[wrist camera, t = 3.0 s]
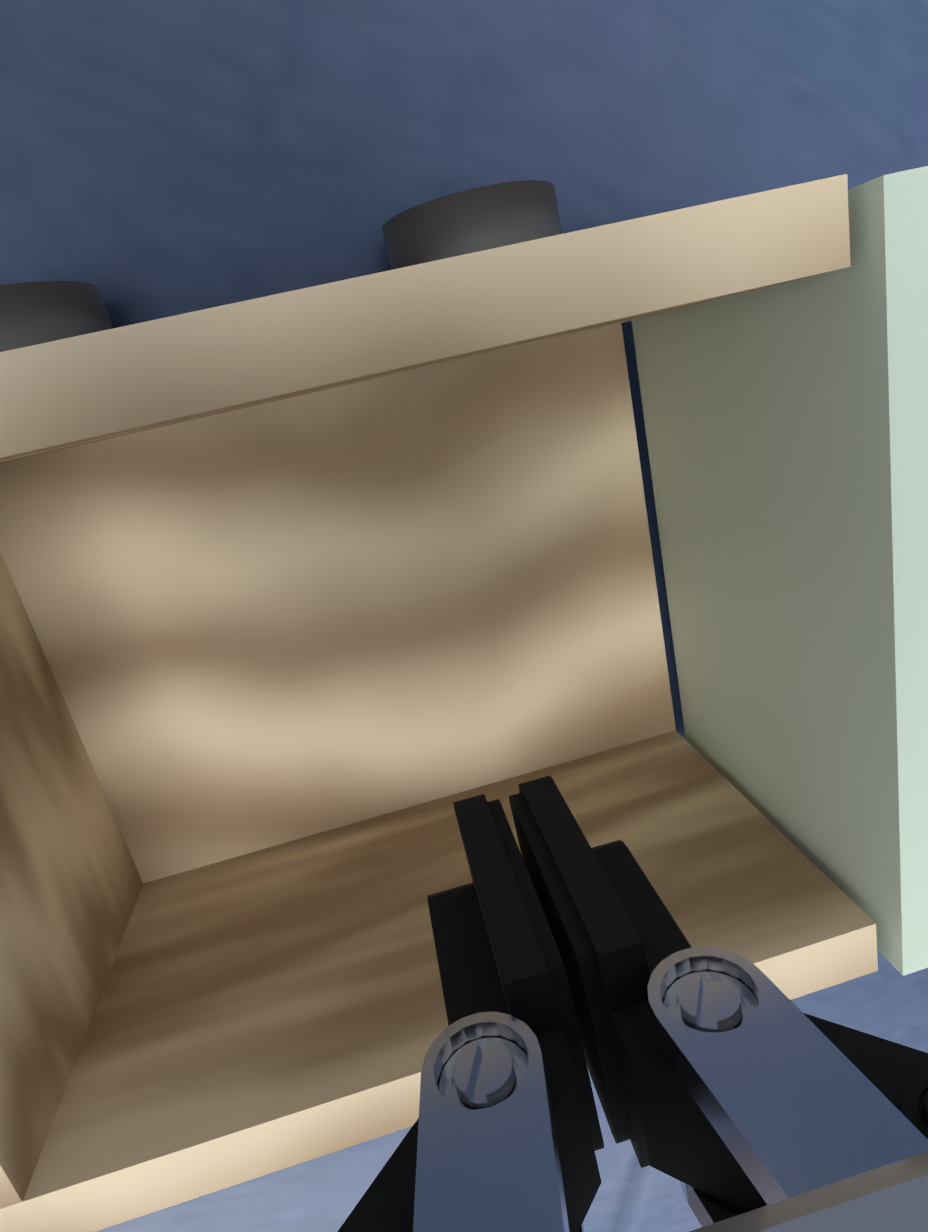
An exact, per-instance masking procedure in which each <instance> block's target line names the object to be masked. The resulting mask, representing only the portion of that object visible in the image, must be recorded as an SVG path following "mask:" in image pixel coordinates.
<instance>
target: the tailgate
mask: <svg viewBox="0 0 928 1232" xmlns="http://www.w3.org/2000/svg"><path fill="white" fill-rule="evenodd" d="M848 210H849V236H850V262H851V267H847V268H843V269H839V270H835V271H831V272H827V273H823V274H819V275H815V276H811V277H807V278H803V279H798V280H794V281H790V282H786V283H782V284H778V285H774V286H770V287H766V288H762V289H758V290H754V291H750V292H746V293H742V294H737V295H733V296H729V297H725V298H721V299H717V300H713V301H709V302H705V303H701V304H697V305H693V306H689V307H685V308H681V309H677V310H672V311H668V312H664V313H660V314H656V315H652V316H648V317H644V318H640V319H636V320H632V321H631V322H632V329H633V337H634V345H635V353H636V360H637V368H638V376H639V383H640V391H641V399H642V407H643V414H644V422H645V430H646V437H647V445H648V453H649V461H650V468H651V476H652V484H653V491H654V499H655V507H656V514H657V522H658V530H659V538H660V545H661V553H662V561H663V568H664V576H665V584H666V592H667V599H668V607H669V615H670V622H671V630H672V638H673V646H674V653H675V661H676V669H677V676H678V684H679V692H680V699H681V707H682V715H683V723H684V730H685V738H686V741H687V742H689V743H690V744H691V745H692V746H693V747H694V748H695V749H696V750H697V751H698V752H699V753H700V754H701V755H702V756H703V757H704V758H705V759H706V760H707V761H708V762H709V763H710V764H711V765H712V766H713V767H714V768H715V769H716V770H717V771H719V772H720V773H721V774H722V775H723V776H724V777H725V778H726V779H727V780H728V781H729V782H730V783H731V784H732V785H733V786H734V787H735V788H736V789H737V790H738V791H739V792H740V793H741V794H742V795H743V796H744V797H745V798H746V799H747V800H749V801H750V802H751V803H752V804H753V805H754V806H755V807H756V808H757V809H758V810H759V811H760V812H761V813H762V814H763V815H764V816H765V817H766V818H767V819H768V820H769V821H770V822H771V823H772V824H773V825H774V826H775V827H776V828H777V829H779V830H780V831H781V832H782V833H783V834H784V835H785V836H786V837H787V838H788V839H789V840H790V841H791V842H792V843H793V844H794V845H795V846H796V847H797V848H798V849H799V850H800V851H801V852H802V853H803V854H804V855H805V856H806V857H807V858H809V859H810V860H811V861H812V862H813V863H814V864H815V865H816V866H817V867H818V868H819V869H820V870H821V871H822V872H823V873H824V874H825V875H826V876H827V877H828V878H829V879H830V880H831V881H832V882H833V883H834V884H835V885H836V886H837V887H839V888H840V889H841V890H842V891H843V892H844V893H845V894H846V895H847V896H848V897H849V898H850V899H851V900H852V901H853V902H854V903H855V904H856V905H857V906H858V907H859V908H860V909H861V910H862V911H863V912H864V913H865V914H866V915H867V916H869V917H870V918H871V919H872V920H873V921H874V922H875V923H876V937H877V950H878V951H879V952H880V953H881V954H882V955H883V956H884V957H885V958H886V959H887V960H888V961H889V962H890V963H891V964H892V965H893V966H894V967H895V968H896V969H897V970H898V971H899V972H900V973H901V974H902V975H903V976H904V975H907V974H910V973H913V972H916V971H919V970H922V969H925V968H928V166H925V167H921V168H916V169H911V170H906V171H902V172H897V173H892V174H887V175H883V176H881V177H878V178H876V179H873V180H870V181H868V182H865V183H863V184H860V185H858V186H855V187H853V188H850V189H848Z"/></svg>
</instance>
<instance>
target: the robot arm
mask: <svg viewBox="0 0 928 1232" xmlns="http://www.w3.org/2000/svg"><path fill="white" fill-rule="evenodd" d="M509 802H510V807H511V811H512V816H513V820H514V824H515V829H516V833H517V838H518V842H519V846H520V850H519V848H518V845H517V843H516V840H515V838H514V835H513V833H512V830H511V828H510V825H509V822H508V820H507V817H506V815H505V812H504V810H503V807H502V805H501V802H500V800H499V799H496V800H493V801H489V802H487V800H486V797H485V794H481V795H478V796H474V797H470V798H467V799H463V800H460V801H456V802H453V806H454V810H455V814H456V818H457V822H458V826H459V829H460V833H461V837H462V841H463V845H464V849H465V853H466V857H467V861H468V865H469V869H470V873H471V877H472V881H473V882H472V883H469V884H465V885H462V886H459V887H455V888H452V889H448V890H445V891H441V892H438V893H434V894H431V895H428V896H427V900H428V907H429V913H430V919H431V925H432V930H433V936H434V942H435V948H436V954H437V960H438V966H439V972H440V978H441V984H442V990H443V996H444V1002H445V1008H446V1014H447V1020H448V1025H449V1026H448V1027H446V1028H445V1029H444V1030H443V1031H442V1032H441V1033H440V1034H439V1035H438V1036H437V1037H436V1038H435V1039H434V1041H433V1042H432V1044H431V1046H430V1048H429V1049H428V1051H427V1053H426V1055H425V1057H424V1062H423V1067H422V1071H421V1083H420V1103H419V1118H418V1119H417V1121H416V1122H415V1124H414V1125H413V1126H412V1128H411V1129H410V1131H409V1132H408V1133H407V1135H406V1136H405V1138H404V1139H403V1141H402V1142H401V1143H400V1145H399V1146H398V1148H397V1149H396V1150H395V1152H394V1153H393V1155H392V1156H391V1157H390V1159H389V1160H388V1162H387V1163H386V1164H385V1166H384V1167H383V1169H382V1170H381V1171H380V1173H379V1174H378V1176H377V1177H376V1179H375V1180H374V1181H373V1183H372V1184H371V1186H370V1187H369V1188H368V1190H367V1191H366V1193H365V1194H364V1195H363V1197H362V1198H361V1200H360V1201H359V1202H358V1204H357V1205H356V1207H355V1208H354V1210H353V1211H352V1212H351V1214H350V1215H349V1217H348V1218H347V1219H346V1221H345V1222H344V1224H343V1225H342V1226H341V1228H340V1229H339V1231H338V1232H585V1231H584V1227H583V1221H584V1218H585V1216H586V1214H587V1212H588V1210H589V1208H590V1206H591V1203H592V1201H593V1199H594V1197H595V1195H596V1193H597V1190H598V1188H599V1186H600V1184H601V1179H600V1174H599V1170H598V1165H597V1161H596V1156H595V1152H594V1151H595V1150H599V1149H602V1148H604V1143H603V1138H602V1134H601V1129H600V1124H599V1120H598V1115H597V1111H596V1106H595V1101H594V1097H593V1092H592V1087H591V1083H590V1078H589V1074H588V1069H589V1072H590V1075H591V1078H592V1080H593V1083H594V1086H595V1089H596V1091H597V1094H598V1097H599V1099H600V1102H601V1105H602V1108H603V1110H604V1113H605V1116H606V1118H607V1121H608V1124H609V1127H610V1129H611V1132H612V1135H613V1137H614V1139H615V1142H616V1143H620V1142H623V1141H626V1140H629V1139H630V1140H631V1143H632V1145H633V1148H634V1150H635V1153H636V1155H637V1158H638V1161H639V1163H640V1166H641V1168H642V1167H645V1166H648V1165H650V1166H652V1167H654V1168H656V1169H658V1170H660V1171H662V1172H664V1173H666V1174H668V1175H670V1176H672V1177H674V1178H676V1179H678V1180H680V1182H681V1187H682V1190H683V1192H684V1195H685V1197H686V1199H687V1202H688V1204H689V1206H690V1208H691V1210H692V1211H693V1213H694V1215H695V1216H696V1218H697V1220H698V1221H699V1223H700V1225H701V1226H702V1228H699V1229H696V1230H693V1231H690V1232H928V1053H925V1052H922V1051H919V1050H916V1049H913V1048H910V1047H907V1046H903V1045H900V1044H897V1043H894V1042H891V1041H888V1040H885V1039H882V1038H879V1037H876V1036H873V1035H869V1034H866V1033H863V1032H860V1031H857V1030H854V1029H851V1028H848V1027H845V1026H842V1025H839V1024H835V1023H832V1022H829V1021H826V1020H823V1019H820V1018H817V1017H814V1016H811V1015H808V1014H805V1013H802V1012H801V1011H800V1010H799V1009H798V1008H797V1007H796V1006H795V1005H794V1004H793V1003H792V1002H791V1001H790V1000H789V999H788V997H787V996H786V995H785V994H784V993H783V992H782V991H781V990H780V989H779V988H778V987H777V986H776V985H775V984H774V983H773V982H772V981H771V980H770V979H769V978H768V977H767V976H766V975H765V974H764V973H763V972H762V971H761V970H760V969H759V968H758V967H756V966H755V965H754V964H752V963H751V962H750V961H749V960H747V959H746V958H745V957H742V956H740V955H738V954H735V953H733V952H731V951H728V950H725V949H719V948H713V947H693V948H692V947H691V945H690V944H689V942H688V941H687V939H686V938H685V936H684V934H683V933H682V931H681V930H680V928H679V927H678V925H677V924H676V922H675V920H674V919H673V917H672V916H671V914H670V913H669V911H668V909H667V908H666V906H665V905H664V903H663V902H662V900H661V899H660V897H659V895H658V894H657V892H656V891H655V889H654V888H653V886H652V885H651V883H650V881H649V880H648V878H647V877H646V875H645V874H644V872H643V871H642V869H641V867H640V866H639V864H638V863H637V861H636V860H635V858H634V857H633V855H632V853H631V852H630V850H629V849H628V847H627V846H626V845H625V843H624V842H623V841H621V840H617V841H614V842H610V843H607V844H603V845H600V846H596V847H593V848H591V846H590V845H589V843H588V841H587V839H586V837H585V836H584V834H583V832H582V830H581V829H580V827H579V825H578V823H577V821H576V820H575V818H574V816H573V814H572V812H571V811H570V809H569V807H568V805H567V804H566V802H565V800H564V798H563V796H562V795H561V793H560V791H559V789H558V787H557V786H556V784H555V782H554V780H553V778H552V777H551V776H550V775H549V776H545V777H542V778H538V779H535V780H531V781H528V782H524V783H520V784H519V793H518V794H514V795H511V796H509ZM520 851H521V853H520ZM587 1067H588V1069H587Z"/></svg>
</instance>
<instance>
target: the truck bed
mask: <svg viewBox="0 0 928 1232" xmlns="http://www.w3.org/2000/svg"><path fill="white" fill-rule="evenodd" d="M382 230H383V234H384V239H385V243H386V248H387V252H388V257H389V261H390V265H391V270H388V271H384V272H379V273H374V274H369V275H365V276H360V277H355V278H350V279H346V280H341V281H336V282H331V283H327V284H322V285H317V286H312V287H308V288H303V289H298V290H293V291H289V292H284V293H279V294H274V295H269V296H265V297H260V298H255V299H250V300H246V301H241V302H236V303H231V304H227V305H222V306H217V307H212V308H208V309H203V310H198V311H193V312H189V313H184V314H179V315H174V316H170V317H165V318H160V319H155V320H151V321H146V322H141V323H136V324H132V325H127V326H122V327H117V328H113V327H112V324H111V321H110V318H109V315H108V312H107V309H106V306H105V303H104V300H103V298H102V295H101V292H100V289H99V287H97V286H95V285H92V284H88V283H82V282H68V281H54V282H32V283H20V284H10V285H1V286H0V1232H95V1231H98V1230H101V1229H104V1228H107V1227H110V1226H113V1225H116V1224H119V1223H122V1222H125V1221H128V1220H131V1219H134V1218H137V1217H140V1216H143V1215H146V1214H149V1213H152V1212H155V1211H158V1210H161V1209H164V1208H167V1207H170V1206H173V1205H176V1204H179V1203H182V1202H185V1201H188V1200H191V1199H194V1198H197V1197H200V1196H203V1195H206V1194H209V1193H212V1192H215V1191H218V1190H221V1189H224V1188H227V1187H230V1186H233V1185H236V1184H239V1183H242V1182H245V1181H248V1180H251V1179H254V1178H257V1177H260V1176H263V1175H266V1174H269V1173H272V1172H275V1171H278V1170H281V1169H284V1168H287V1167H290V1166H293V1165H296V1164H299V1163H302V1162H305V1161H308V1160H311V1159H314V1158H317V1157H320V1156H323V1155H326V1154H329V1153H332V1152H335V1151H338V1150H341V1149H344V1148H347V1147H350V1146H353V1145H356V1144H359V1143H362V1142H365V1141H368V1140H371V1139H374V1138H377V1137H380V1136H383V1135H386V1134H389V1133H392V1132H395V1131H398V1130H401V1129H404V1128H407V1127H410V1126H413V1125H414V1124H415V1122H416V1121H417V1119H418V1118H419V1103H420V1083H421V1071H422V1067H423V1062H424V1057H425V1055H426V1053H427V1051H428V1049H429V1048H430V1046H431V1044H432V1042H433V1041H434V1039H435V1038H436V1037H437V1036H438V1035H439V1034H440V1033H441V1032H442V1031H443V1030H444V1029H445V1028H446V1027H448V1026H449V1025H448V1020H447V1014H446V1008H445V1002H444V996H443V990H442V984H441V978H440V972H439V966H438V960H437V954H436V948H435V942H434V936H433V930H432V925H431V919H430V913H429V907H428V900H427V896H428V895H431V894H434V893H438V892H441V891H445V890H448V889H452V888H455V887H459V886H462V885H465V884H469V883H472V882H473V881H472V877H471V873H470V869H469V865H468V861H467V857H466V853H465V849H464V845H463V841H462V837H461V833H460V829H459V826H458V822H457V818H456V814H455V810H454V806H453V802H456V801H460V800H463V799H467V798H470V797H474V796H478V795H481V794H485V797H486V800H487V802H489V801H493V800H496V799H499V800H500V802H501V805H502V807H503V810H504V812H505V815H506V817H507V820H508V822H509V825H510V828H511V830H512V833H513V835H514V838H515V840H516V843H517V845H518V848H519V850H520V846H519V842H518V838H517V833H516V829H515V824H514V820H513V816H512V811H511V807H510V802H509V796H511V795H514V794H518V793H519V784H520V783H524V782H528V781H531V780H535V779H538V778H542V777H545V776H549V775H550V776H551V777H552V778H553V780H554V782H555V784H556V786H557V787H558V789H559V791H560V793H561V795H562V796H563V798H564V800H565V802H566V804H567V805H568V807H569V809H570V811H571V812H572V814H573V816H574V818H575V820H576V821H577V823H578V825H579V827H580V829H581V830H582V832H583V834H584V836H585V837H586V839H587V841H588V843H589V845H590V846H591V848H593V847H596V846H600V845H603V844H607V843H610V842H614V841H617V840H621V841H623V842H624V843H625V845H626V846H627V847H628V849H629V850H630V852H631V853H632V855H633V857H634V858H635V860H636V861H637V863H638V864H639V866H640V867H641V869H642V871H643V872H644V874H645V875H646V877H647V878H648V880H649V881H650V883H651V885H652V886H653V888H654V889H655V891H656V892H657V894H658V895H659V897H660V899H661V900H662V902H663V903H664V905H665V906H666V908H667V909H668V911H669V913H670V914H671V916H672V917H673V919H674V920H675V922H676V924H677V925H678V927H679V928H680V930H681V931H682V933H683V934H684V936H685V938H686V939H687V941H688V942H689V944H690V945H691V947H692V948H693V947H713V948H719V949H725V950H728V951H731V952H733V953H735V954H738V955H740V956H742V957H745V958H746V959H747V960H749V961H750V962H751V963H752V964H754V965H755V966H756V967H758V968H759V969H760V970H761V971H762V972H763V973H764V974H765V975H766V976H767V977H768V978H769V979H770V980H771V981H772V982H773V983H774V984H775V985H776V986H777V987H778V988H779V989H780V990H781V991H782V992H783V993H784V994H785V995H786V996H787V997H788V999H789V1000H792V999H795V998H798V997H801V996H804V995H807V994H810V993H813V992H816V991H819V990H822V989H825V988H828V987H831V986H834V985H837V984H840V983H843V982H846V981H849V980H852V979H855V978H858V977H861V976H864V975H867V974H870V973H873V972H876V971H878V963H877V937H876V923H875V922H874V921H873V920H872V919H871V918H870V917H869V916H867V915H866V914H865V913H864V912H863V911H862V910H861V909H860V908H859V907H858V906H857V905H856V904H855V903H854V902H853V901H852V900H851V899H850V898H849V897H848V896H847V895H846V894H845V893H844V892H843V891H842V890H841V889H840V888H839V887H837V886H836V885H835V884H834V883H833V882H832V881H831V880H830V879H829V878H828V877H827V876H826V875H825V874H824V873H823V872H822V871H821V870H820V869H819V868H818V867H817V866H816V865H815V864H814V863H813V862H812V861H811V860H810V859H809V858H807V857H806V856H805V855H804V854H803V853H802V852H801V851H800V850H799V849H798V848H797V847H796V846H795V845H794V844H793V843H792V842H791V841H790V840H789V839H788V838H787V837H786V836H785V835H784V834H783V833H782V832H781V831H780V830H779V829H777V828H776V827H775V826H774V825H773V824H772V823H771V822H770V821H769V820H768V819H767V818H766V817H765V816H764V815H763V814H762V813H761V812H760V811H759V810H758V809H757V808H756V807H755V806H754V805H753V804H752V803H751V802H750V801H749V800H747V799H746V798H745V797H744V796H743V795H742V794H741V793H740V792H739V791H738V790H737V789H736V788H735V787H734V786H733V785H732V784H731V783H730V782H729V781H728V780H727V779H726V778H725V777H724V776H723V775H722V774H721V773H720V772H719V771H717V770H716V769H715V768H714V767H713V766H712V765H711V764H710V763H709V762H708V761H707V760H706V759H705V758H704V757H703V756H702V755H701V754H700V753H699V752H698V751H697V750H696V749H695V748H694V747H693V746H692V745H691V744H690V743H689V742H687V741H686V740H685V739H684V738H683V737H682V736H681V735H680V734H679V733H678V732H677V731H676V727H675V719H674V712H673V704H672V697H671V689H670V682H669V674H668V667H667V660H666V652H665V645H664V637H663V630H662V622H661V615H660V607H659V600H658V592H657V585H656V577H655V570H654V563H653V555H652V548H651V540H650V533H649V525H648V518H647V510H646V503H645V495H644V488H643V480H642V473H641V465H640V458H639V451H638V443H637V436H636V428H635V421H634V413H633V406H632V398H631V391H630V383H629V376H628V368H627V361H626V353H625V346H624V339H623V331H622V324H621V323H624V322H628V321H632V320H636V319H640V318H644V317H648V316H652V315H656V314H660V313H664V312H668V311H672V310H677V309H681V308H685V307H689V306H693V305H697V304H701V303H705V302H709V301H713V300H717V299H721V298H725V297H729V296H733V295H737V294H742V293H746V292H750V291H754V290H758V289H762V288H766V287H770V286H774V285H778V284H782V283H786V282H790V281H794V280H798V279H803V278H807V277H811V276H815V275H819V274H823V273H827V272H831V271H835V270H839V269H843V268H847V267H851V262H850V236H849V210H848V184H847V174H844V175H840V176H835V177H830V178H825V179H821V180H816V181H811V182H806V183H802V184H797V185H792V186H787V187H783V188H778V189H773V190H768V191H764V192H759V193H754V194H749V195H745V196H740V197H735V198H730V199H726V200H721V201H716V202H711V203H707V204H702V205H697V206H692V207H688V208H683V209H678V210H673V211H669V212H664V213H659V214H654V215H650V216H645V217H640V218H635V219H631V220H626V221H621V222H616V223H612V224H607V225H602V226H597V227H593V228H588V229H583V230H578V231H574V232H569V233H564V234H561V229H560V222H559V216H558V209H557V202H556V196H555V189H554V185H553V184H552V183H550V182H546V181H537V180H533V181H516V182H508V183H501V184H495V185H490V186H484V187H480V188H475V189H471V190H467V191H463V192H459V193H455V194H452V195H448V196H445V197H441V198H438V199H435V200H432V201H429V202H426V203H424V204H421V205H418V206H416V207H413V208H411V209H409V210H406V211H404V212H402V213H400V214H398V215H396V216H395V217H393V218H391V219H390V220H388V221H387V222H386V223H385V224H384V225H383V227H382ZM520 853H521V851H520Z"/></svg>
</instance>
